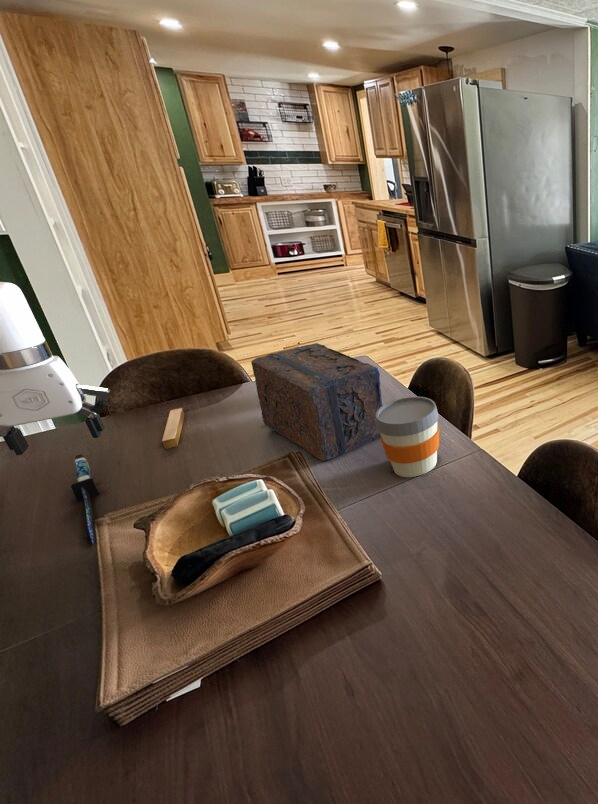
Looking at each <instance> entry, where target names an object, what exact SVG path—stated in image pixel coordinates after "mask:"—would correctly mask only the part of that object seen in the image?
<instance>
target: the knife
mask: <svg viewBox="0 0 598 804" xmlns="http://www.w3.org/2000/svg"><path fill="white" fill-rule="evenodd" d="M73 463H74V466H75V472H76V473H75V474H76V479H77V481H76V482H73V483H71V484H70V488H71V491H72V492H73V494H74V496H75V498H76V500H77V502H81V501H84V508H85V515H86V516H85V517H86V525H87V531H88V535H89V537H90V541H91V543H92V545H94V525H93V507H92V500H91V498H93V497H97V496H100V492H99V489H98V487H97V485H96V482H95V480H94V478H92V474H91V469H90V468H91V467H90V464H89V462H88V460H87V458H86V457H85V456H84V455H83V454H81V453H79V454H78V455H75V457H74V462H73Z"/></svg>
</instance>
